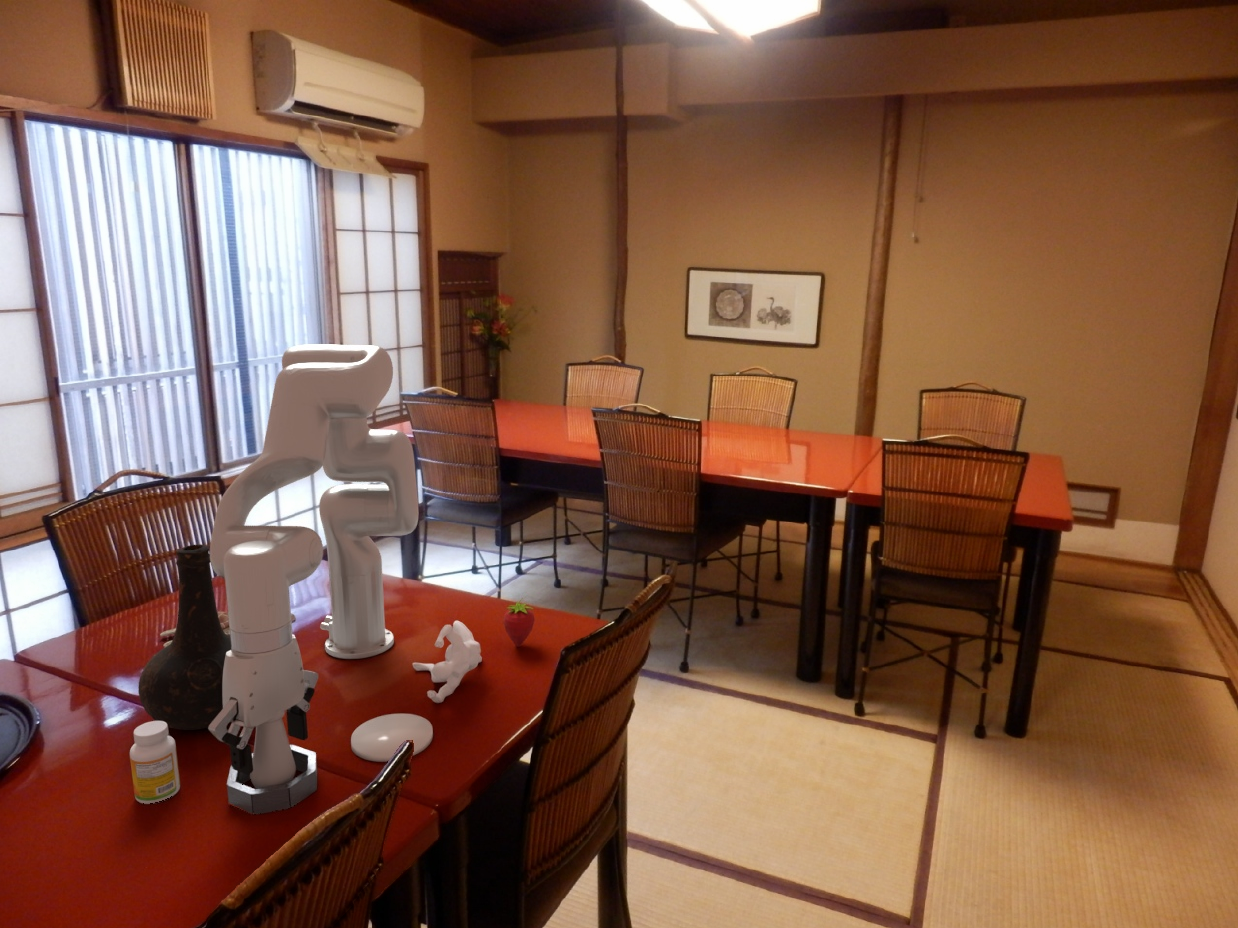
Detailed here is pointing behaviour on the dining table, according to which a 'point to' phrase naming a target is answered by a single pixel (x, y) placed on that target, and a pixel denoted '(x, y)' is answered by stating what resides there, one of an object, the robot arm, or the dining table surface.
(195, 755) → the dining table surface
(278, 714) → the salt shaker
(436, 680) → the person figurine
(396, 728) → the ceramic coaster
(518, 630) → the strawberry
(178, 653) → the glass bottle
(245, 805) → the metal ring
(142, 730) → the supplement bottle
